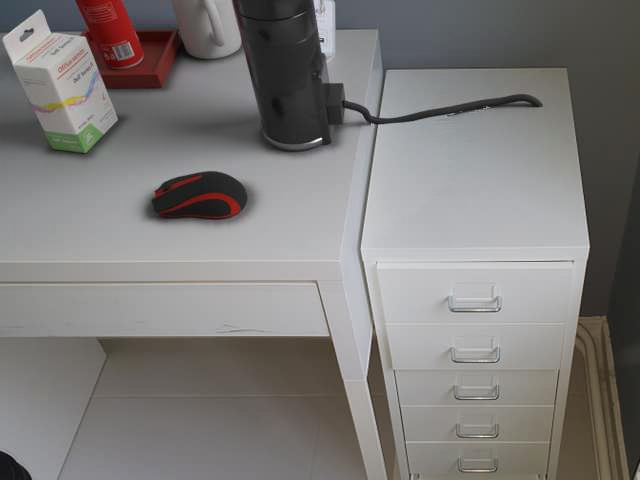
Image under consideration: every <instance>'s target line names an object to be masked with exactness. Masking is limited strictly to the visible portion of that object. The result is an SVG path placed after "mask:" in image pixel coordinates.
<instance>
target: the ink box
mask: <svg viewBox="0 0 640 480" xmlns="http://www.w3.org/2000/svg"><path fill="white" fill-rule="evenodd" d="M32 29H33V33H32V34H30V35H29V36H27V38H26V39H24V40H22V41H21V37H22V36H24V34H25V31H30V30H32ZM2 43H3V46H4V49H5V51H6V52H7V55H8V58H9V59H10V62H11V64H12V65H11V66H12V68H13V70H14V72H15V74H16V77H17V78H18V80H19V83H20V85H21V86H22V89H23V91H24V93H25V95H26V96H27V99H28V101H29V103H30V105H31V107H32V109H33V111H34V113H35V115H36V117H37V119H38V121H39V124H40V126H41V128H42V129H43V132H44V133H45V136H46V138H47V140H48V142H49V144H50V146H51V148H52V149H53V150H59V151H66V152H73V153H74V152H75V153H83V154H87V153H88V152H89V150H90V149H91V148H92V147H93V146H94V145H95V144H96V143H98V141H99V140H100V139H101V138H102V137H104V135H105V134H106V133H107V132H108V131H110V129H111V128H112V127H113V126H114V125H115V124H116V123H117V122H118V120H119V118H118V117H117V113H116V110H115V108H114V105H113V103H112V101H111V98H110V95H109V93H108V91H107V88H105V85H104V83H103V80H102V78H101V75H100V73H99V70H98V68H97V65H96V62H95V60H94V57H93V55H92V52H91V50H90V47H89V45H88V42H87V40H86V37H83V36H80V35H75V34H67V33H59V32H52V31H51V30H50V27H49V25H48V21H47V18H46V16H45V14H44V12H43V10H42V9H38V10H37V11H35V12H34V13H33V14H31V15H30V16H29V17H27V18H26V19H25V20H24V21H22V22H20V23H19V24H18V25H17V26H16V27H14V28H13V29H12V30H11V31H10V32H8V33H7V34H6V35H4V36H3V37H2Z"/></svg>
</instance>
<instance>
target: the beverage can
mask: <svg viewBox="0 0 640 480" xmlns="http://www.w3.org/2000/svg"><path fill="white" fill-rule="evenodd" d="M74 2H75V3H76V4H75V5H76V6H77V7H78V10H79V12H80V15H81V16H82V18H83V20H84V23H85V25H86V27H87V28H88V29H87V30H89V31H90V33H91V35H92V37H93V39H94V41H95V43H96V45H97V48H98V50H99V52H100V54H101V56H102V58H103V60H104V62H105V64H106V65H108V66H109V67H111V68H114V69H126V68H130V67H133V66H135V65H137V64H138V63H140V62H141V61H142V59H143V56H144V52H143V49H142V47H141V44H140V42H139V39H138V37H137V35H136V32H135V30H136V29H135V28H134V26H133V23H132V21H131V19H130V16H129V14H128V11H127V9H126V7H125V4H124V2H123V0H74Z"/></svg>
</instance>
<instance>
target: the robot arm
mask: <svg viewBox="0 0 640 480" xmlns="http://www.w3.org/2000/svg"><path fill="white" fill-rule="evenodd" d="M232 4H233V8H234V12H235V17H236V21H237V25H238V28H239V32H240V36H241V45H242V47H243V52H244V56H245V60H246V65H247V68H248V69H247V70H248V73H249V78H250V81H251V85H252V89H253V93H254V97H255V101H256V106H257V110H258V114H259V118H260V119H259V120H260V123H261V124H260V125H261V128H262V129H261V130H262V134H263V137H264V139H265V141H266V142H267V143H268V144H269V145H270V146H272V147H274V148H276V149H279V150H284V151H290V152H291V151H294V152H295V151H296V152H297V151H305V150H311V149H314V148H316V147H319V146H321V145H325V144H332V142H333V135H334V132H335V126H339V125H341V126H343V125H344V120H345V119H344V118H345V112H346V110H351V111H354V112H358V113H360V114H361V115H362V116H363V119H364V120H365V121H366V122H367V123H370V124H374V125H388V124H391V125H392V124H399V123H400V124H401V123H410V122H416V121H419V120H424V119H428V118H434V117H441V116H447V115H452V114H457V113H462V112H466V111H471V110H475V109H481V108H487V107H494V106H495V107H496V106H503V105H508V104H513V103H518V102H525V103H529V104H531V105H533V106H534V107H535V108H542V107H544V104H543V103H542V102H541V100H540V99H539V98H537V97H535V96H533V95H531V94H527V93H515V94H511V95H507V96H502V97H493V98H486V99H480V100H474V101H469V102H464V103H460V104H456V105H451V106H449V105H448V106H445V107H438V108H432V109H426V110H422V111H418V112H414V113H410V114H406V115H401V116H396V117H379V116H374V115H372V114H371V113H370V110H369V109H368V108H366V107H365V106H364V105H362V104H359V103H356V102H353V101H348V100H346V93H345V85H344V83H343V82H330V77H329V76H330V75H329V70H328V63H327V57H326V54H325V53H324V52H323V51H322V45H321V39H320V32H319V27H318V26H319V25H318V20H317V13H316V7H315V1H314V0H232Z"/></svg>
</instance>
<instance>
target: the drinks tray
mask: <svg viewBox="0 0 640 480" xmlns="http://www.w3.org/2000/svg"><path fill="white" fill-rule="evenodd" d="M134 30H135V32H136V35H137V37H138V39H139V42H140V44H141V47H142V49H143V52H144V56H143V59H142V61H141V62H140V63H138V64H137V65H135V66H133V67H130V68H126V69H114V68H111V67H109V66H108V65H106V64H105V62H104V60H103V58H102V56H101V54H100V52H99V50H98V48H97V45H96V43H95V41H94V39H93V37H92V35H91V33H90V31H89V29H83V30H82V32H81V33H80V34H79V36H83V37H86V40H87V42H88V45H89V47H90V50H91V52H92V55H93V57H94V60H95V62H96V65H97V68H98V70H99V73H100V75H101V78H102V80H103V83H104V85H105V88H106V89H160V88H163V86H164V84H165V82H166V80H167V77H168V75H169V73H170V71H171V68H172V66H173V64H174V62H175V59H176V57H177V54H178V52H179V51H180V48H181V45H182V43H183V41H182V38H181V34H180V31H179V30H178V29H134Z"/></svg>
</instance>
